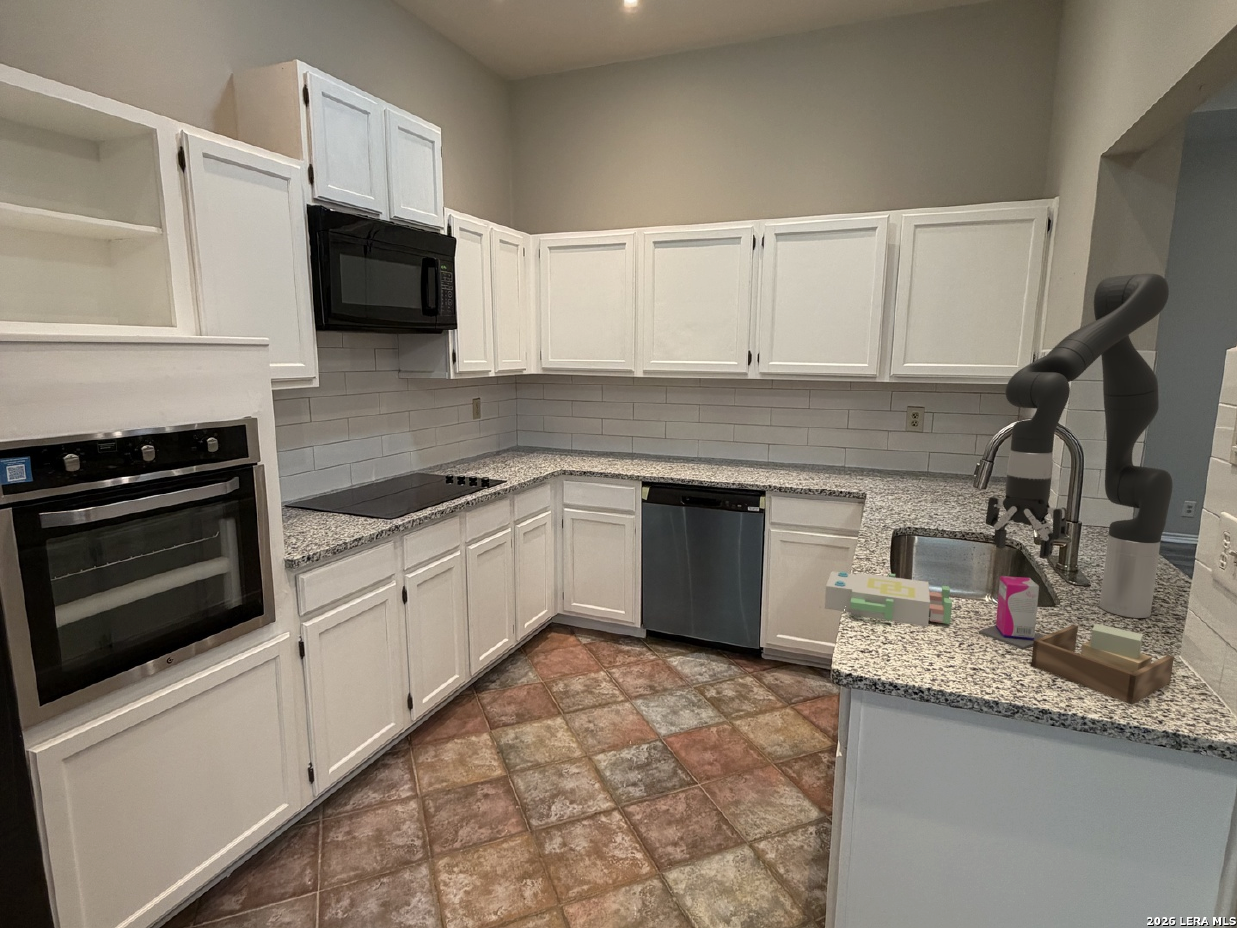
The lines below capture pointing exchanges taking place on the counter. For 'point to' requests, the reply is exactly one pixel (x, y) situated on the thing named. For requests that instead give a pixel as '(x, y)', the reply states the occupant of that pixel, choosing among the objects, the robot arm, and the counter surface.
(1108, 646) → the offcut top
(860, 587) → the decorative block
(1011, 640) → the mat
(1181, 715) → the counter surface
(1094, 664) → the rack
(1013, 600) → the supplement box
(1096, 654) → the offcut low
